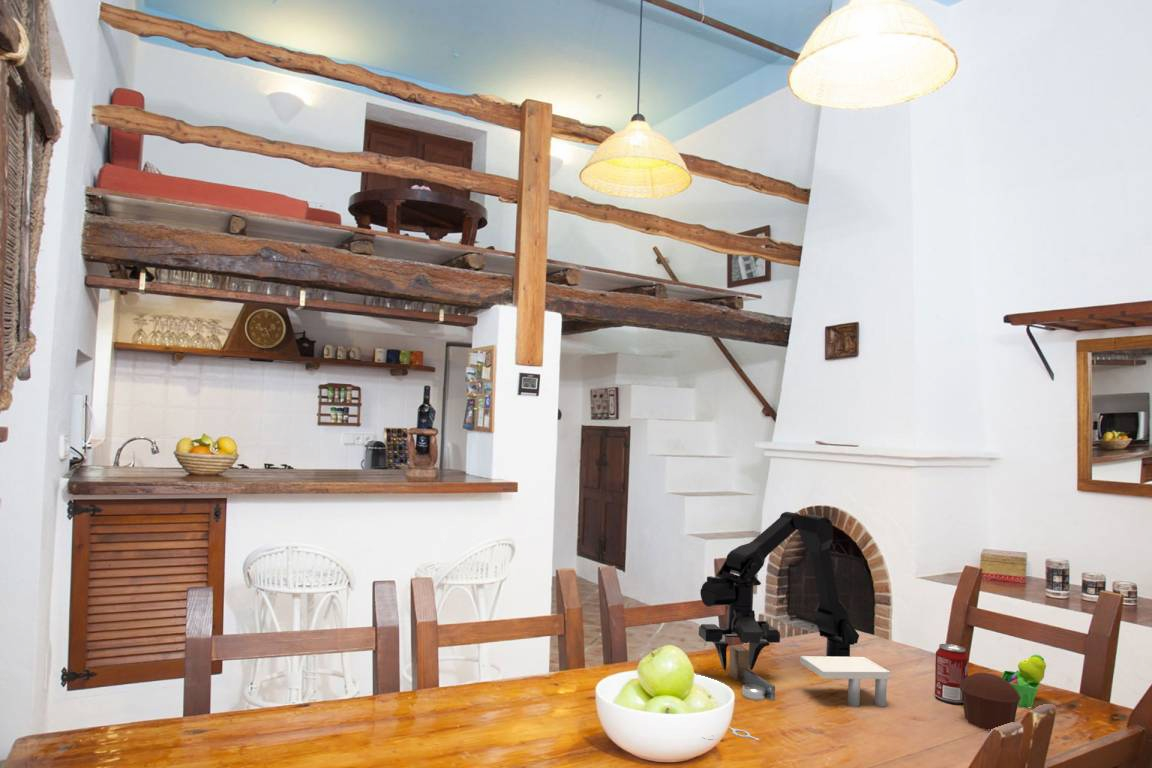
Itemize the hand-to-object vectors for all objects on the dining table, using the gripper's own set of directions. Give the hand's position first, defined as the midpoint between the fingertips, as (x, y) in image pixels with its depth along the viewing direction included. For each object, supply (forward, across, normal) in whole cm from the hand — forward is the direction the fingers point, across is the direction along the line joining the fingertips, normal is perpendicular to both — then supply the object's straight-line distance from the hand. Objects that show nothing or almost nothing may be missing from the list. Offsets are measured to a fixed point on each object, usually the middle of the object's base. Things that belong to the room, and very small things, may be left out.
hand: (737, 669), depth 184 cm
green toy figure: (+2, +64, -16) cm, 66 cm away
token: (+2, -1, -13) cm, 13 cm away
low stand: (+2, +20, -14) cm, 24 cm away
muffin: (+2, +45, -29) cm, 53 cm away
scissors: (+2, -16, -27) cm, 32 cm away
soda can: (+2, +46, -15) cm, 48 cm away
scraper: (+2, +1, -7) cm, 7 cm away
